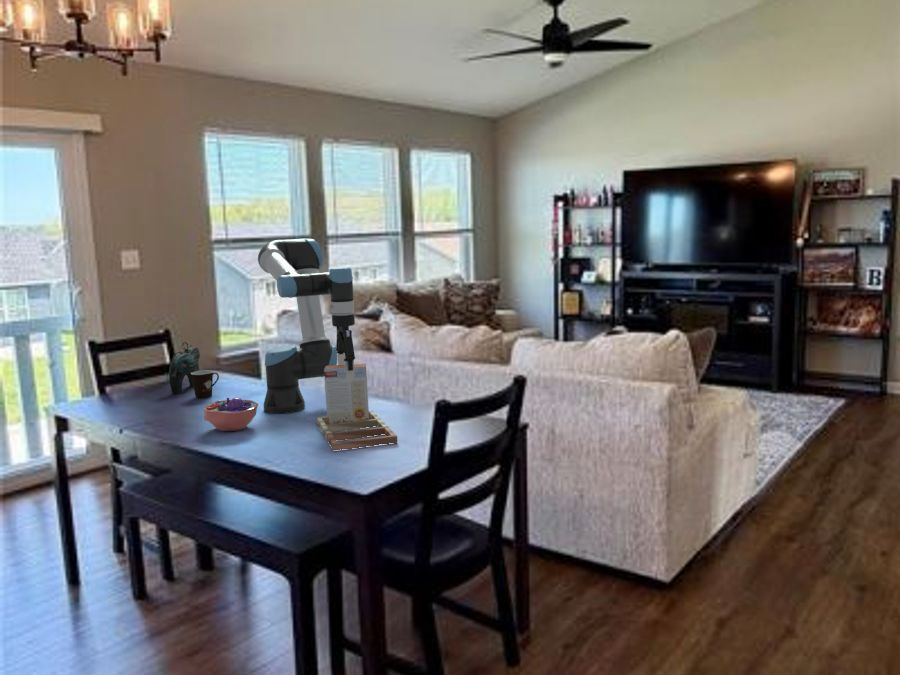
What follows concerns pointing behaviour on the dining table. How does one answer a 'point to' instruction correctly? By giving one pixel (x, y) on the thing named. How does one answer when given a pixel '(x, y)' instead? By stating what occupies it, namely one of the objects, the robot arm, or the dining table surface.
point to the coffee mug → (203, 383)
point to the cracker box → (346, 394)
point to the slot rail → (356, 432)
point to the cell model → (230, 413)
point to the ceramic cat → (183, 367)
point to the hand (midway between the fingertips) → (346, 376)
